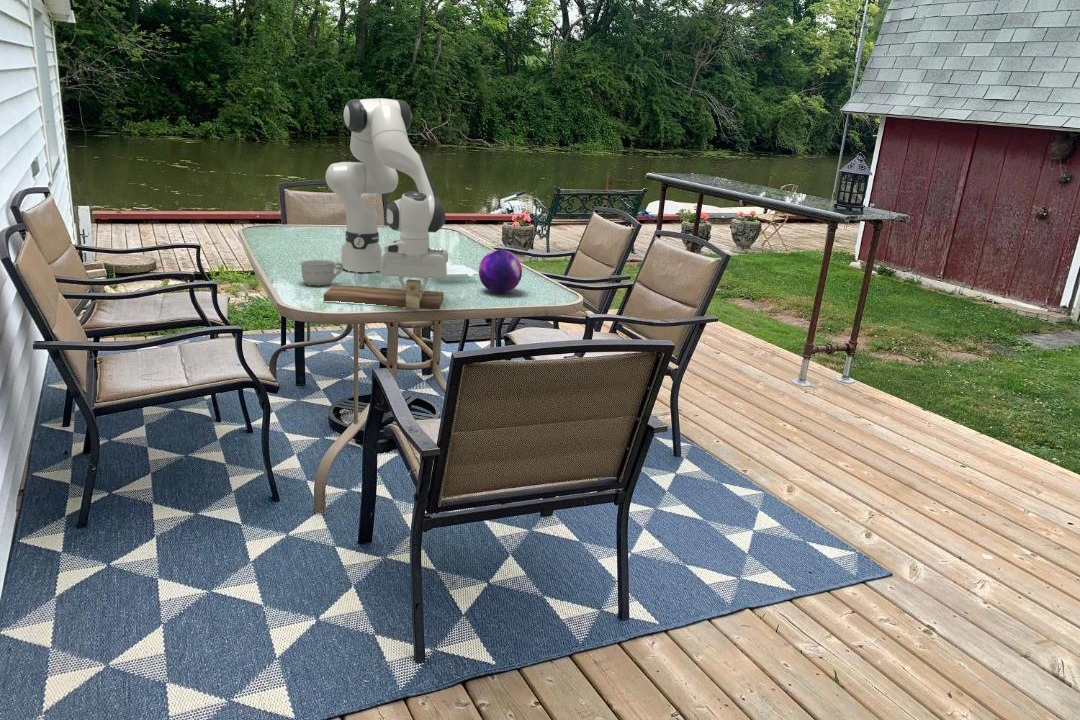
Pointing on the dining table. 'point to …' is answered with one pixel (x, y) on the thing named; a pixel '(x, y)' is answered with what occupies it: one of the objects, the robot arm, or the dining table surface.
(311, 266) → the teacup
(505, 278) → the decorative orb
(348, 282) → the dining table surface
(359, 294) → the oak plank
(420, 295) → the marking gauge
